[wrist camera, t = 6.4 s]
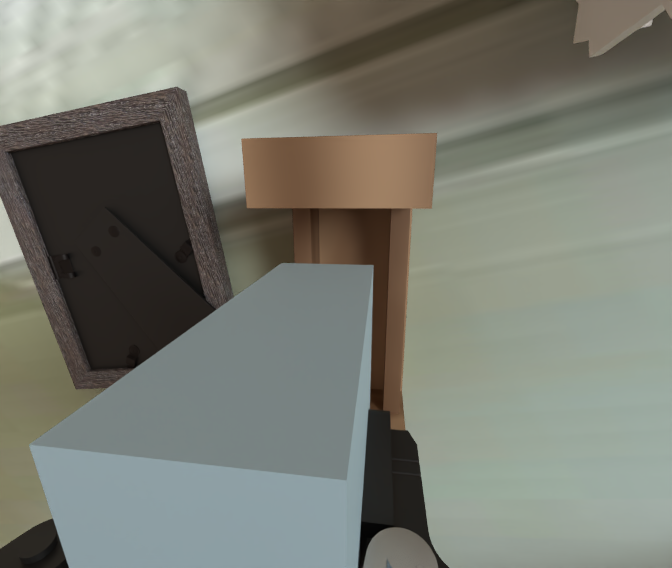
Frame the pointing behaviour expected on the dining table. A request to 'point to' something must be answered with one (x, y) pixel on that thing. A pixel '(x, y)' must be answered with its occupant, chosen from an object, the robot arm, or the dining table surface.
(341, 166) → the track
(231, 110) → the dining table surface
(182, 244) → the picture frame
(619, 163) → the dining table surface
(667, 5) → the spiral staircase
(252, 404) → the door panel
